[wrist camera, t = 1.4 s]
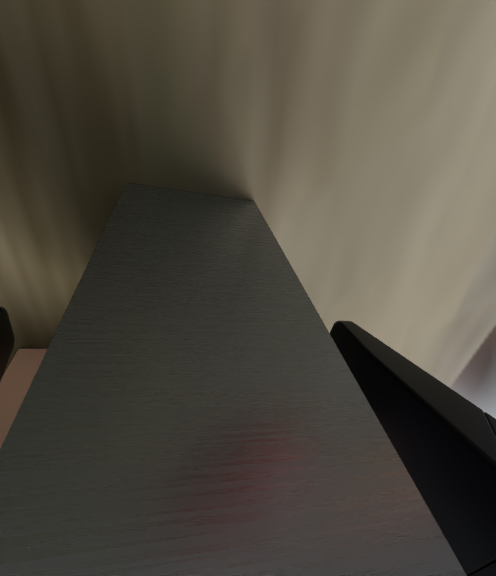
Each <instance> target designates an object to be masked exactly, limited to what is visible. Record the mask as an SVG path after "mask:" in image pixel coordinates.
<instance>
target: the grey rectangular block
mask: <svg viewBox="0 0 496 576" xmlns="http://www.w3.org/2000/svg"><path fill="white" fill-rule="evenodd" d="M0 576H467V575H466V573H465V572H464V570H463V568H462V566H461V565H460V563H459V561H458V559H457V558H456V556H455V554H454V552H453V551H452V549H451V547H450V545H449V543H448V542H447V540H446V538H445V536H444V535H443V533H442V531H441V529H440V528H439V526H438V524H437V522H436V521H435V519H434V517H433V515H432V514H431V512H430V510H429V508H428V506H427V505H426V503H425V501H424V499H423V498H422V496H421V494H420V492H419V491H418V489H417V487H416V485H415V484H414V482H413V480H412V478H411V476H410V475H409V473H408V471H407V469H406V468H405V466H404V464H403V462H402V461H401V459H400V457H399V455H398V454H397V452H396V450H395V448H394V446H393V445H392V443H391V441H390V439H389V438H388V436H387V434H386V432H385V431H384V429H383V427H382V425H381V424H380V422H379V420H378V418H377V417H376V415H375V413H374V411H373V409H372V408H371V406H370V404H369V402H368V401H367V399H366V397H365V395H364V394H363V392H362V390H361V388H360V387H359V385H358V383H357V381H356V379H355V378H354V376H353V374H352V372H351V371H350V369H349V367H348V365H347V364H346V362H345V360H344V358H343V357H342V355H341V353H340V351H339V349H338V348H337V346H336V344H335V342H334V341H333V339H332V337H331V335H330V334H329V332H328V330H327V328H326V327H325V325H324V323H323V321H322V319H321V318H320V316H319V314H318V312H317V311H316V309H315V307H314V305H313V304H312V302H311V300H310V298H309V297H308V295H307V293H306V291H305V290H304V288H303V286H302V284H301V282H300V281H299V279H298V277H297V275H296V274H295V272H294V270H293V268H292V267H291V265H290V263H289V261H288V260H287V258H286V256H285V254H284V252H283V251H282V249H281V247H280V245H279V244H278V242H277V240H276V238H275V237H274V235H273V233H272V231H271V230H270V228H269V226H268V224H267V222H266V221H265V219H264V217H263V215H262V214H261V212H260V210H259V208H258V207H257V205H256V203H255V201H250V200H243V199H236V198H229V197H222V196H215V195H208V194H201V193H194V192H187V191H180V190H173V189H166V188H159V187H152V186H145V185H138V184H131V183H126V184H125V186H124V189H123V191H122V193H121V195H120V197H119V199H118V201H117V203H116V205H115V208H114V210H113V212H112V214H111V216H110V218H109V220H108V222H107V224H106V227H105V229H104V231H103V233H102V235H101V237H100V239H99V241H98V243H97V246H96V248H95V250H94V252H93V254H92V256H91V258H90V260H89V262H88V265H87V267H86V269H85V271H84V273H83V275H82V277H81V279H80V281H79V284H78V286H77V288H76V290H75V292H74V294H73V296H72V298H71V300H70V303H69V305H68V307H67V309H66V311H65V313H64V315H63V317H62V319H61V322H60V324H59V326H58V328H57V330H56V332H55V334H54V336H53V338H52V341H51V343H50V345H49V347H48V349H47V351H46V353H45V355H44V357H43V360H42V362H41V364H40V366H39V368H38V370H37V372H36V374H35V376H34V379H33V381H32V383H31V385H30V387H29V389H28V391H27V393H26V395H25V398H24V400H23V402H22V404H21V406H20V408H19V410H18V412H17V414H16V417H15V419H14V421H13V423H12V425H11V427H10V429H9V431H8V433H7V436H6V438H5V440H4V442H3V444H2V446H1V448H0Z"/></svg>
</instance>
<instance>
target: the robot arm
mask: <svg viewBox="0 0 496 576" xmlns="http://www.w3.org/2000/svg"><path fill="white" fill-rule="evenodd" d="M330 335H331V337H332V339H333V341H334V342H335V344H336V346H337V348H338V349H339V351H340V353H341V355H342V357H343V358H344V360H345V362H346V364H347V365H348V367H349V369H350V371H351V372H352V374H353V376H354V378H355V379H356V381H357V383H358V385H359V387H360V388H361V390H362V392H363V394H364V395H365V397H366V399H367V401H368V402H369V404H370V406H371V408H372V409H373V411H374V413H375V415H376V417H377V418H378V420H379V422H380V424H381V425H382V427H383V429H384V431H385V432H386V434H387V436H388V438H389V439H390V441H391V443H392V445H393V446H394V448H395V450H396V452H397V454H398V455H399V457H400V459H401V461H402V462H403V464H404V466H405V468H406V469H407V471H408V473H409V475H410V476H411V478H412V480H413V482H414V484H415V485H416V487H417V489H418V491H419V492H420V494H421V496H422V498H423V499H424V501H425V503H426V505H427V506H428V508H429V510H430V512H431V514H432V515H433V517H434V519H435V521H436V522H437V524H438V526H439V528H440V529H441V531H442V533H443V535H444V536H445V538H446V540H447V542H448V543H449V545H450V547H451V549H452V551H453V552H454V554H455V556H456V558H457V559H458V561H459V563H460V565H461V566H462V568H463V570H464V572H465V573H466V575H467V576H496V419H495V418H493V417H492V416H490V415H489V414H487V413H485V412H483V411H482V410H481V409H480V408H478V407H477V406H475V405H474V404H473V403H471V402H470V401H468V400H467V399H465V398H464V397H462V396H461V395H459V394H458V393H456V392H455V391H453V390H452V389H450V388H449V387H448V386H446V385H445V384H443V383H442V382H440V381H439V380H437V379H436V378H434V377H433V376H431V375H430V374H428V373H427V372H425V371H424V370H422V369H421V368H419V367H418V366H417V365H415V364H414V363H412V362H411V361H409V360H408V359H406V358H405V357H403V356H402V355H400V354H399V353H397V352H396V351H394V350H393V349H391V348H390V347H389V346H387V345H386V344H384V343H383V342H381V341H380V340H378V339H377V338H375V337H374V336H372V335H371V334H369V333H368V332H366V331H365V330H363V329H362V328H360V327H359V326H358V325H356V324H355V323H353V322H351V321H337V322H335V323H334V325H333V327H332V329H331V332H330ZM13 346H14V334H13V330H12V327H11V323H10V320H9V316H8V313H7V311H6V310H5V308H3V307H0V382H1V379H2V376H3V374H4V371H5V368H6V365H7V363H8V360H9V357H10V354H11V352H12V349H13Z"/></svg>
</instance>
